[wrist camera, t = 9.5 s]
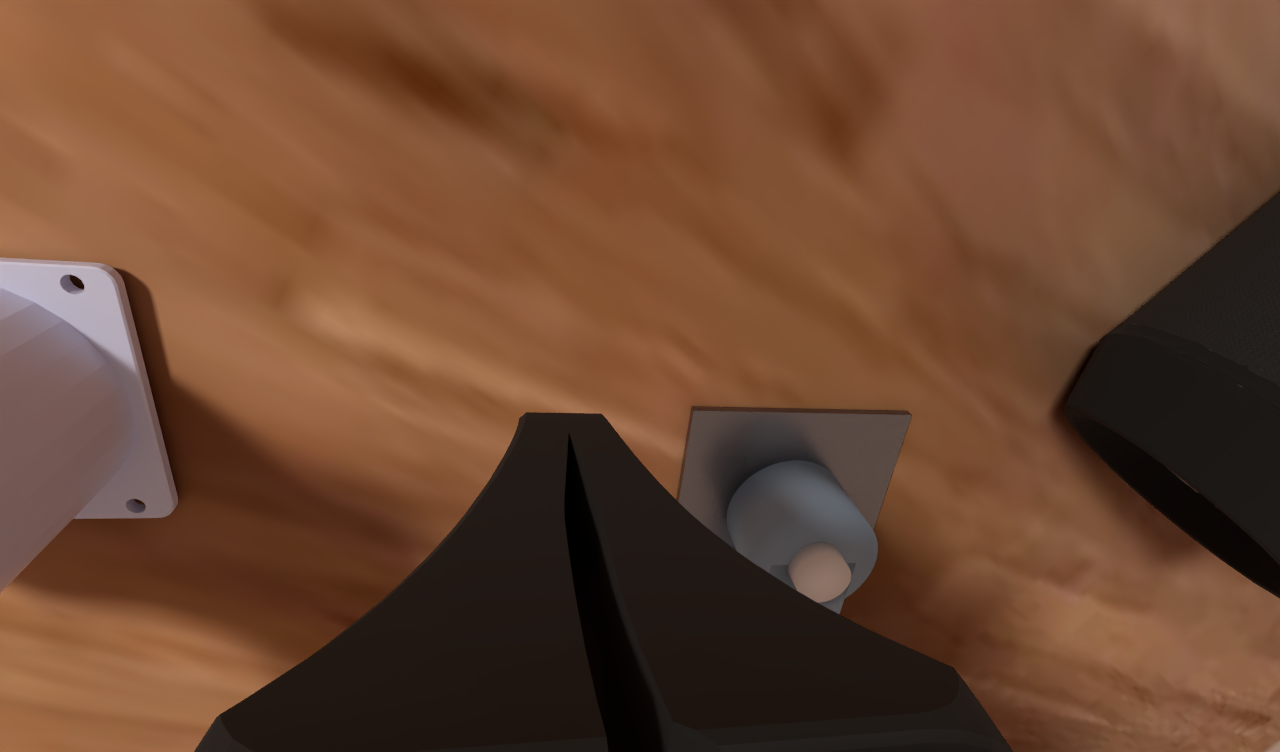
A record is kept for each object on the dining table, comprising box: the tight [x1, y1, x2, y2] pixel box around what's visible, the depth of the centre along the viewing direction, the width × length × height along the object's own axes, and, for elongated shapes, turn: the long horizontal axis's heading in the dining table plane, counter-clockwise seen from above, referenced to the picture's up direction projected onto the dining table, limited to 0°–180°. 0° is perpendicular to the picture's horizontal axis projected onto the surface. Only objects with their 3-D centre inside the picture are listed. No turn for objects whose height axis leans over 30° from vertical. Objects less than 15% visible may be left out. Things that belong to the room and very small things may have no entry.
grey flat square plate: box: [677, 406, 912, 550], centre depth 24 cm, size 8×8×1 cm
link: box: [726, 460, 878, 614], centre depth 25 cm, size 16×4×4 cm, turn 174°
